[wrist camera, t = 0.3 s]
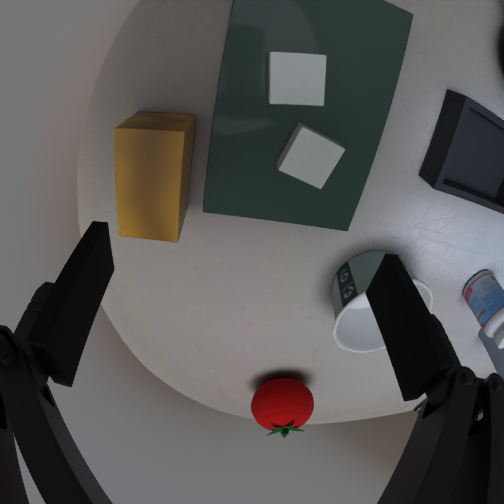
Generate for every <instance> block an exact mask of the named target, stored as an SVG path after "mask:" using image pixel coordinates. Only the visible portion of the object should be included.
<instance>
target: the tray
mask: <svg viewBox="0 0 504 504" xmlns="http://www.w3.org/2000/svg"><path fill="white" fill-rule="evenodd" d="M419 176H420V177H422V178H423V179H424V180H425V181H426V182H427V183H428V184H429V185H430V186H431V187H432V188H433V189H436V190H439V191H442V192H445V193H448V194H451V195H454V196H457V197H460V198H463V199H465V200H468V201H471V202H474V203H477V204H479V205H482V206H485V207H487V208H490V209H492V210H495V211H497V212H500V213H502V214H504V120H502V119H501V118H499V117H498V116H497V115H495V114H494V113H492V112H491V111H489V110H488V109H486V108H485V107H483V106H482V105H480V104H478V103H477V102H475V101H474V100H472V99H470V98H469V97H467V96H465V95H462V94H459V93H457V92H454V91H451V90H447V93H446V97H445V100H444V103H443V107H442V110H441V113H440V116H439V120H438V123H437V126H436V129H435V132H434V135H433V138H432V140H431V143H430V146H429V149H428V152H427V154H426V157H425V160H424V162H423V165H422V168H421V170H420V173H419Z"/></svg>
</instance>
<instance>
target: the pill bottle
mask: <svg viewBox="0 0 504 504" xmlns="http://www.w3.org/2000/svg"><path fill="white" fill-rule="evenodd" d="M463 296H464V298H465V300H466V302H467V303H468V305H469V307H470V308H471V310H472V312H473V313H474V315H475V317H476V318H477V320H478V322H479V324H480V325H481V327H482V329H483V331H484V332H485V334H486V335H487V336H488V337H491V338H493V337H495V339H494V340H495V343H496V345H497V347H498V348H499V349H502V348H504V290H503V288H502V287H501V286H500V284H499V283H498V281H497V280H496V279H495V277H494V276H493V275H492V273H491V272H489V271H482V272H480V273H478V274H477V275H475V276H474V277H473V278H472V279H471V280H470V281H469V282H468V283H467V285H466V286H465V288H464V292H463Z"/></svg>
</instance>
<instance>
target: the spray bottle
mask: <svg viewBox="0 0 504 504" xmlns="http://www.w3.org/2000/svg"><path fill="white" fill-rule="evenodd" d="M479 337H480V338H481V340H482V342H483V344H484V346H485V348H486V350H487V352H488V354H489V356H490V358H491V360H492V362H493V364H494V367H495V369H496V371H497V373H498V375H500V376H501V377H502V378H503V380H504V348H502V349H499V348H498V347H497V345H496V343H495V340H494V339H495V337H493V338H491V337H488V336H487V335H486V334H485V332H484V331H483V329H482V328H481V330H480V332H479Z"/></svg>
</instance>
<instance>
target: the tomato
mask: <svg viewBox="0 0 504 504" xmlns="http://www.w3.org/2000/svg"><path fill="white" fill-rule="evenodd" d="M313 408H314V401H313V396H312V393H311V391H310V390H309V389H308V388H307V387H306V386H305V385H304V384H303V383H301V382H299V381H297V380H294V379H290V378H279V379H274V380H271V381H268V382H267V383H265V384H263V385H262V386H261V387H260V388H259V389H258V390H257V391H256V392H255V394H254V396H253V399H252V403H251V411H252V414H253V416H254V418H255V419H256V421H257V422H258V423H259V424H260V425H261V426H262V427H264V428H266V429H268V430H272V431H273V432H271V433H269V434H268V435H271V434H274V433H277V432H281V435H282V436H283V437H284V438H285V436H286V435H287V434H288V432H289V430H293V431H303V430H301V429H297V428H298V427H300V426H302V425H303V424H304V423H306V421H307V420H308V419H309V418H310V416H311V414H312V412H313Z"/></svg>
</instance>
